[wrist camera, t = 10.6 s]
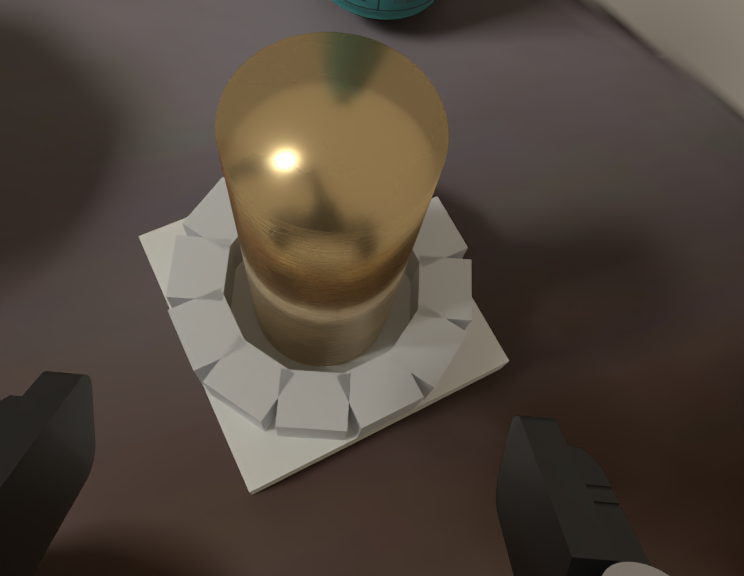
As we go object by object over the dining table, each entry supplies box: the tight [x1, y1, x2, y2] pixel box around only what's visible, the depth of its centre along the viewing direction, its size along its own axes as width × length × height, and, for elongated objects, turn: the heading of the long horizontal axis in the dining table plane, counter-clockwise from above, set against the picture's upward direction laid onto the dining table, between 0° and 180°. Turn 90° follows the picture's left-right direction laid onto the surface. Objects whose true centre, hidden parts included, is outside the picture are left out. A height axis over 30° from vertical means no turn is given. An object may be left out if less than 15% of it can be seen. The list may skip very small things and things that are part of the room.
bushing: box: [215, 32, 449, 366], centre depth 19 cm, size 5×5×11 cm
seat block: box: [139, 177, 509, 495], centre depth 24 cm, size 10×10×3 cm
